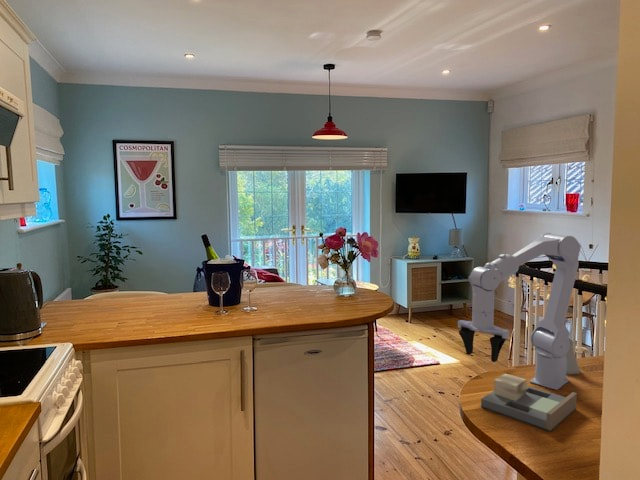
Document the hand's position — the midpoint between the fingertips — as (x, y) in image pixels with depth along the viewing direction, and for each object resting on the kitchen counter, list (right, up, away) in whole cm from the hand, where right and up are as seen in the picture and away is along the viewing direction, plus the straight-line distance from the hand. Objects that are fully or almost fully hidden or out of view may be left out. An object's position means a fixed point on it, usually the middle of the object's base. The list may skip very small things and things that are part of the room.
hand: (481, 357), depth 134 cm
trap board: (+9, -11, -9) cm, 17 cm away
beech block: (+6, -9, -5) cm, 12 cm away
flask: (+32, -8, +15) cm, 36 cm away
